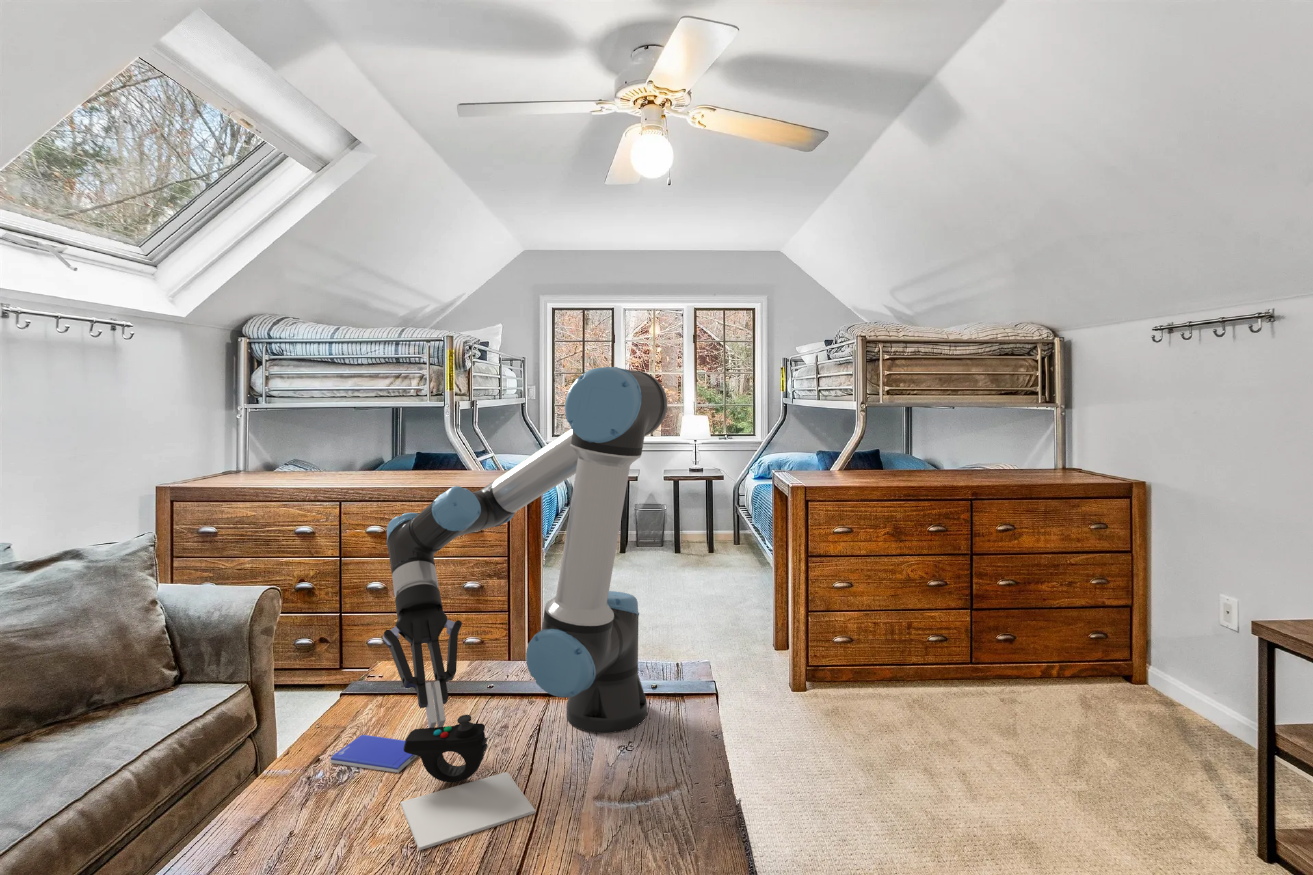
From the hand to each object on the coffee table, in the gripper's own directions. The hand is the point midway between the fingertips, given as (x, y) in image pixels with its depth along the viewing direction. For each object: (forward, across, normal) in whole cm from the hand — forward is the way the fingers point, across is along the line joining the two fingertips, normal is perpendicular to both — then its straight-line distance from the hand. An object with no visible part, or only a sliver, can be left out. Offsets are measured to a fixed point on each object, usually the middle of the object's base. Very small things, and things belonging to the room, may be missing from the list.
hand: (437, 724), depth 107 cm
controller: (+8, -2, -3) cm, 8 cm away
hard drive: (-1, +7, -14) cm, 16 cm away
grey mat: (+14, -2, +3) cm, 14 cm away
